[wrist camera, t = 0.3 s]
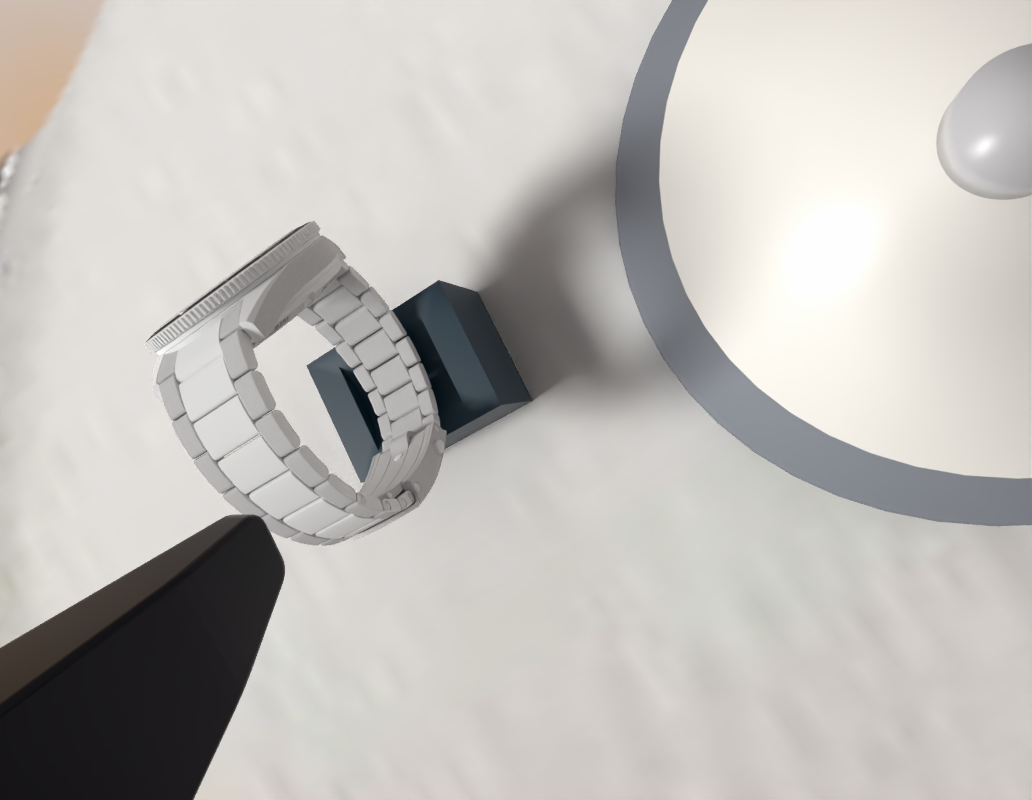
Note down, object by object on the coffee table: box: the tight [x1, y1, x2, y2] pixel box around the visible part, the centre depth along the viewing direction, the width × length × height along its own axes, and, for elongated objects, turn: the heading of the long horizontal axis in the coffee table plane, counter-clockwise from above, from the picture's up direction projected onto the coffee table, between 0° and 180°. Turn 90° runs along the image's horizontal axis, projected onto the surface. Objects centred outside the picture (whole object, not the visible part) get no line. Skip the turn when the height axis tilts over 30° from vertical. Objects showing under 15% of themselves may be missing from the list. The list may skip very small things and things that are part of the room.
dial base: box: [615, 0, 1032, 526], centre depth 17 cm, size 19×19×2 cm
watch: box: [144, 221, 532, 546], centre depth 18 cm, size 6×8×11 cm
